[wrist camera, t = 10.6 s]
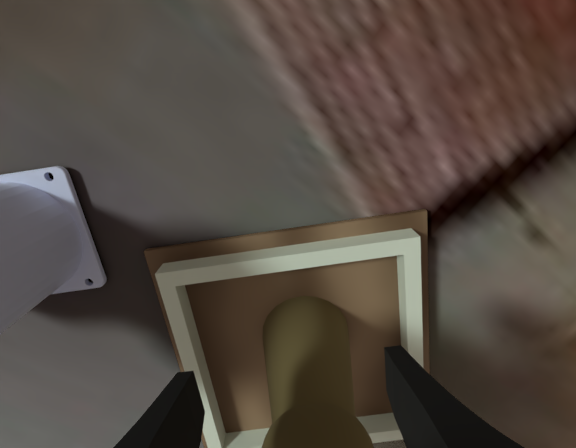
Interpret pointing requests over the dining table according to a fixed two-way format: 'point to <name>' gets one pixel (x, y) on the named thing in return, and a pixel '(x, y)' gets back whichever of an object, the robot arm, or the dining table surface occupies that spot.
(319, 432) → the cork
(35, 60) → the dining table surface
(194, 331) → the walled square frame
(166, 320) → the board
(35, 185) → the robot arm
